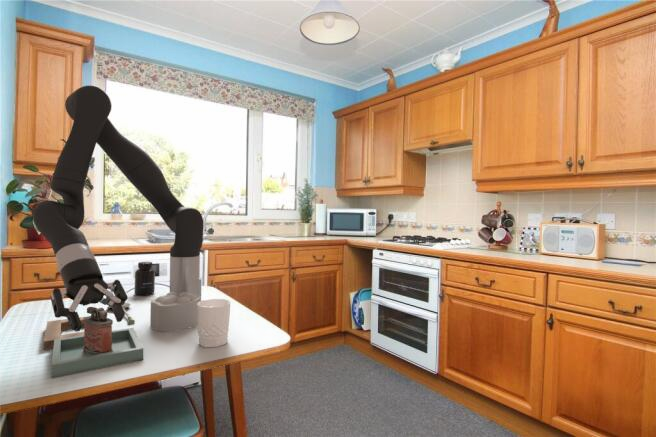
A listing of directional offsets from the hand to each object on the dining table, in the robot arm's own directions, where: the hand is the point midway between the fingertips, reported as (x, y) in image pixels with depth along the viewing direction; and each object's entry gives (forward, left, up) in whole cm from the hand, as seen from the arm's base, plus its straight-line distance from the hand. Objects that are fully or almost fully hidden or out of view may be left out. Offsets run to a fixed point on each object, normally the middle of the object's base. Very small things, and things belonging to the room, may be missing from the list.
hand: (100, 324), depth 80 cm
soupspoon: (-8, -32, -8) cm, 34 cm away
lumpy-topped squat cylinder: (-20, -14, -7) cm, 25 cm away
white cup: (-24, +5, -7) cm, 25 cm away
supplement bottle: (-18, -57, -7) cm, 60 cm away
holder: (+4, -19, -7) cm, 21 cm away
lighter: (0, -1, -7) cm, 7 cm away
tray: (0, -1, -7) cm, 7 cm away
